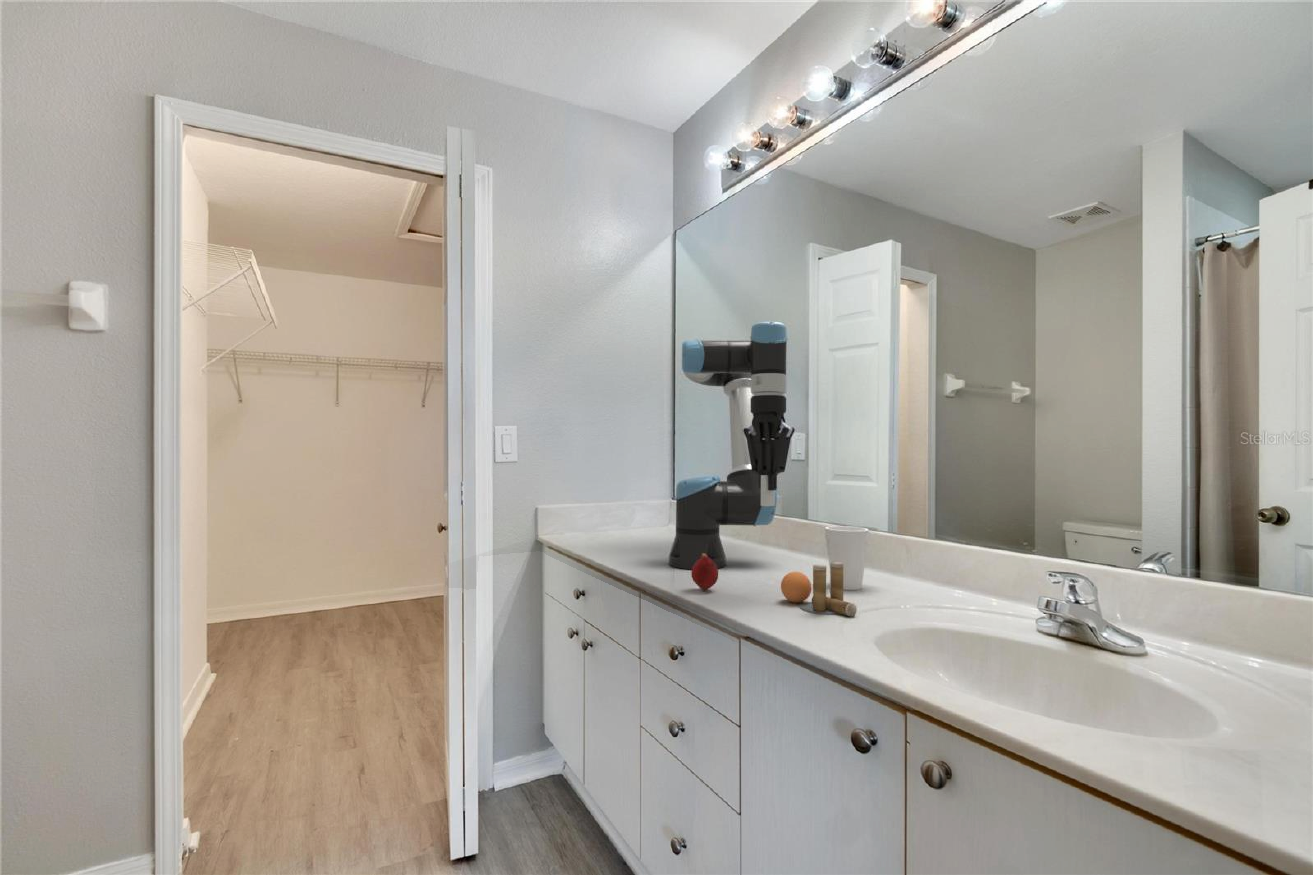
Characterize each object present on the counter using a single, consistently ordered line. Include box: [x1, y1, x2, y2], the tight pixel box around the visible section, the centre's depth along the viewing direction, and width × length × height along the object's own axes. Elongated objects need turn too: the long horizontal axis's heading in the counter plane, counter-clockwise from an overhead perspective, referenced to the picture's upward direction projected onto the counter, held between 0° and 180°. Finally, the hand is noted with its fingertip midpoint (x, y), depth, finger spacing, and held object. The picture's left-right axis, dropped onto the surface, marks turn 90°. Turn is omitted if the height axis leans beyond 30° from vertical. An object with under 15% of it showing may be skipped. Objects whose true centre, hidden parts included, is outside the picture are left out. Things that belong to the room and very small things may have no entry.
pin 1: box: [812, 564, 827, 612], centre depth 113 cm, size 2×2×9 cm
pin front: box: [811, 596, 858, 618], centre depth 113 cm, size 2×2×9 cm
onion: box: [690, 553, 719, 592], centre depth 129 cm, size 6×6×8 cm
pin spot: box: [799, 601, 840, 615], centre depth 115 cm, size 8×8×1 cm
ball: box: [780, 571, 812, 603], centre depth 120 cm, size 6×6×6 cm
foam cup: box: [824, 525, 870, 591], centre depth 135 cm, size 10×9×13 cm
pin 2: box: [829, 562, 844, 601], centre depth 116 cm, size 2×2×9 cm
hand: (767, 505), depth 128 cm, fingers closed
